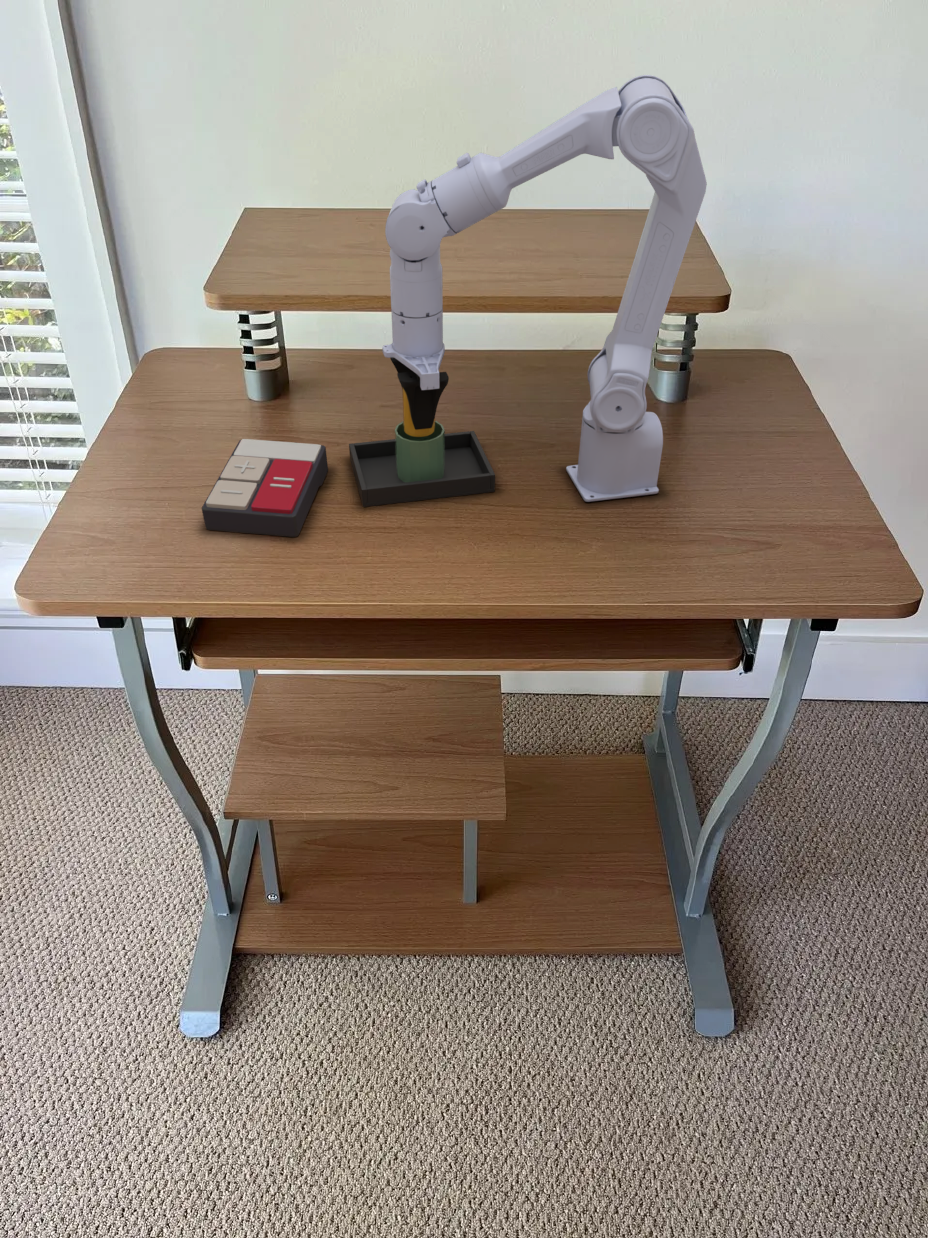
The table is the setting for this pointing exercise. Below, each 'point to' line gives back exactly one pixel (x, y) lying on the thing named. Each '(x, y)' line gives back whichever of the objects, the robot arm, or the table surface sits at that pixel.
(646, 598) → the table surface
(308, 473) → the calculator
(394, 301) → the robot arm
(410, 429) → the mustard cup
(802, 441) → the table surface
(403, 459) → the green cup
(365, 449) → the tray
